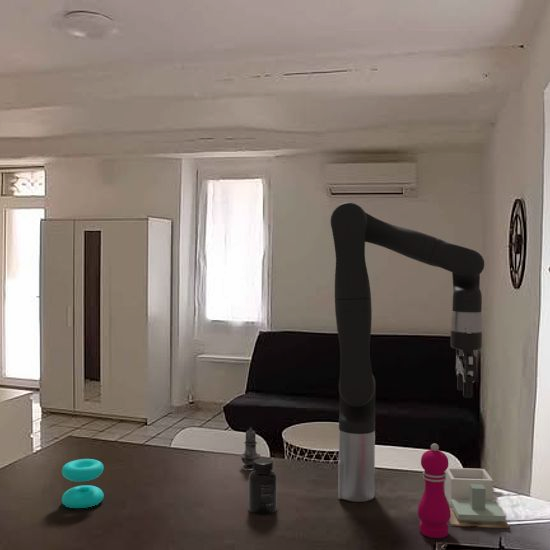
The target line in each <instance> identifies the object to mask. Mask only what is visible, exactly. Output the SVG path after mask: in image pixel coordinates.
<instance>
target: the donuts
mask: <svg viewBox="0 0 550 550" xmlns="http://www.w3.org/2000/svg"><path fill="white" fill-rule="evenodd" d="M103 471H104V464H103V462H101V461H100V460H97V459H93V458H80V459H74V460H71V461H69V462H67V463H65V464H64V465H63V466H62V469H61V474H62V476H63V477H64V478H65V479H66V480H68V481H71V482H76V483H77V482H78V483H79V482H80V483H81V482H89V481H92V480H95V479H97V478H98V477H100V476H101V475H102V474H103ZM104 495H105V494H104V492H103V490H102V489H101V488H100V487H97V486H95V485H89V484H88V485H87V484H85V485H77V486H74V487H71V488H69V489H67V490H66V491H65V492H64V493H63V494H62V497H61V502H62V504H63V506H64V505H65V506H64V507H66V508H68V507H69V508H68V509H71V508H86V509H88V508H87V507H91V508H93V507H92V506H94V507H96V506H98V505H100V504H101V503H102V502H103V500H104V497H105V496H104ZM99 503H100V504H99ZM95 505H96V506H95Z"/></svg>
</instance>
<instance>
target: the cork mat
mask: <svg viewBox="0 0 550 550" xmlns="http://www.w3.org/2000/svg"><path fill="white" fill-rule="evenodd" d="M450 512H451V518H450V520H449V521H448V522H449V524H450V526H452V527H470V526H477V527H476V528H496V529H497V528H499V529H500V528H501V529H503V528H504V529H510V527H511V526H510V525H509V523H508V521H507V520H506V521H497V523H488V522H463V520H458V518H457V516H456V514H455V512H454V510H453V508H452V507H450Z"/></svg>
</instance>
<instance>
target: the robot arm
mask: <svg viewBox="0 0 550 550" xmlns="http://www.w3.org/2000/svg"><path fill="white" fill-rule="evenodd" d="M330 227H331V232H332V239H333V244H334V252H335V271H334V272H335V273H334V312H335V320H336V330H337V331H336V332H337V336H338V342H339V343H338V344H339V349H340V350H339V353H340V361H339V363H340V366H339V370H340V371H339V381H338V392H339V411H338V412H339V413H338V414H339V416H338V461H337V462H338V473H337V475H338V477H337V478H338V481H337V482H338V483H337V484H338V486H337V490H338V491H337V492H338V499H339V500H344V501H345V500H346V501H349V502H355V503H357V502H359V503H360V502H362V503H363V502H368V501H371V500H373V499H374V498H375V478H376V477H375V467H376V465H375V463H376V461H375V460H376V459H375V458H376V457H375V456H376V454H375V453H376V451H375V449H376V378H375V376H374V375H373V372H372V371H373V370H372V361H371V356H370V355H371V354H370V349H371V348H370V346H371V337H372V335H371V333H372V319H373V318H372V317H373V316H372V312H373V310H372V309H373V308H372V297H371V296H372V293H371V286H370V285H371V284H370V278H369V274H368V267H367V263H366V252H365V251H366V243H369V244H372V245H376V246H379V247H383V248H385V249H388V250H390V251H393V252H394V253H395V252H396V253H397V254H399V255H402V256H405V257H406V258H409V259H412V260H415V261H417V262H419V263H422V264H425V265H428V266H432V267H436V268H441V269H442V270H446V271H448V272H450V273H451V274H452V285H453V288H452V289H453V290H452V291H453V292H452V311H451V319H450V343H449V344H450V347H451V348H452V349H455V369H454V371H455V373H456V374H455V375H456V377H457V384H456V387H457V388H456V389H457V390H458V391H461V392H462V396H463V398H465V399H472V398H473V396H474V383H475V382H476V380H477V357H476V356H474V353H473V351H479V350H482V345H483V344H482V343H483V315H482V306H483V305H482V304H483V303H482V300H483V299H482V298H483V297H482V291H481V288H480V287H481V286H480V285H481V283H480V281H481V280H480V279H481V274H482V272H483V271H484V269H485V260H484V257H483V255H481V254H480V253H479V251H477V250H474V249H471V248H468V247H465V246H461V245H457V244H454V243H451V242H450V243H449V242H447V241H445V240H442V239H440V238H437V237H435V236H433V235H430V234H427V233H424V232H420V231H417V230H414V229H410V228H406V227H402V226H398V225H394V224H391V223H389V222H385V221H383V220H381V219H379V218H377V217H375V216H374V215H373V216H372V215H371V214H369V213H367V212H366V211H365V210H364V209H363V208H362V207H361V206H360V205H359V204H357V203H354V202H343V203H340V204H339V205H337V206H336V208H335V209H334V210H333V211H332V213H331V215H330Z"/></svg>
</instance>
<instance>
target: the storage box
mask: <svg viewBox="0 0 550 550" xmlns="http://www.w3.org/2000/svg"><path fill="white" fill-rule="evenodd" d="M445 473H446V480H445V481H444V494H445V497H446V500H447V502H448V504H449V507H450V508H452V506H451V499H459V500H469V497H470V484H483V486H484V487H485V500H487V501H494V499H493V497H494V492H493V491H494V484H493V483H494V480H493V479H492V477H491V476H490V475H489V473H488V472H487V471H486V469H485V468H471V467H470V468H469V467H466V468H465V467H448V468H447V469H446V470H445Z"/></svg>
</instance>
